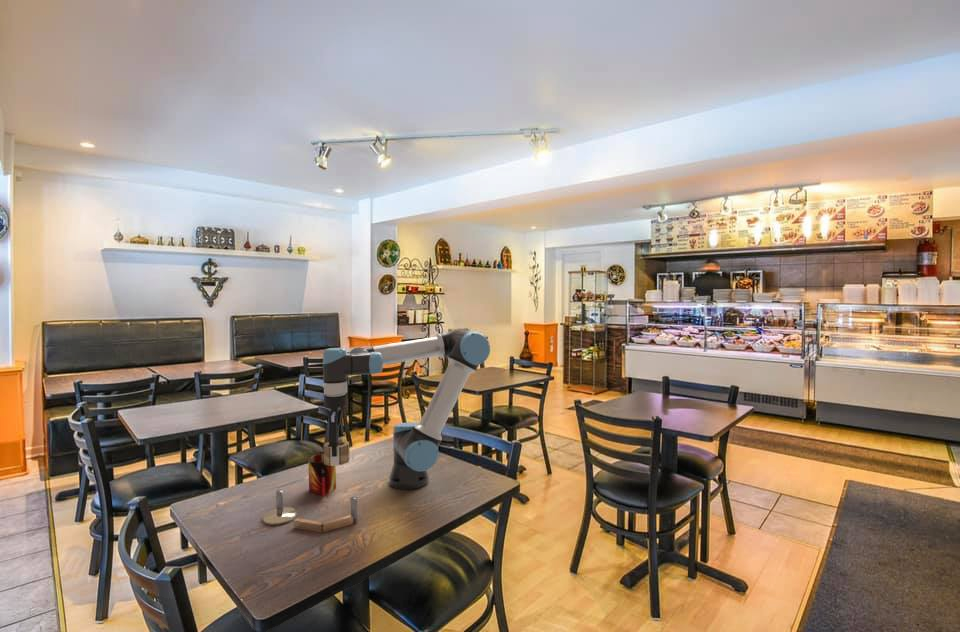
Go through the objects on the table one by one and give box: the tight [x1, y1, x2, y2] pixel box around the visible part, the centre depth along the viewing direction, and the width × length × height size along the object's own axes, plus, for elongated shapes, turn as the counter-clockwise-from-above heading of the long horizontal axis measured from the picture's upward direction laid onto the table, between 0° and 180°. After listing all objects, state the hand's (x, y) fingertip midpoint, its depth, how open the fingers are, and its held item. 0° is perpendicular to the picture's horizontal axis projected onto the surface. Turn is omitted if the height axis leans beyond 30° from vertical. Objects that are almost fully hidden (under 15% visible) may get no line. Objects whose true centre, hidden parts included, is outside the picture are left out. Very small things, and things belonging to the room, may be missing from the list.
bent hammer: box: [293, 496, 358, 533], centre depth 149 cm, size 19×6×8 cm, turn 98°
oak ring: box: [323, 439, 351, 467], centre depth 160 cm, size 8×8×6 cm
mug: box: [308, 453, 337, 498], centre depth 176 cm, size 10×14×12 cm
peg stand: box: [262, 489, 297, 526], centre depth 155 cm, size 10×10×9 cm
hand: (337, 460), depth 160 cm, fingers closed on oak ring, 8 cm apart
